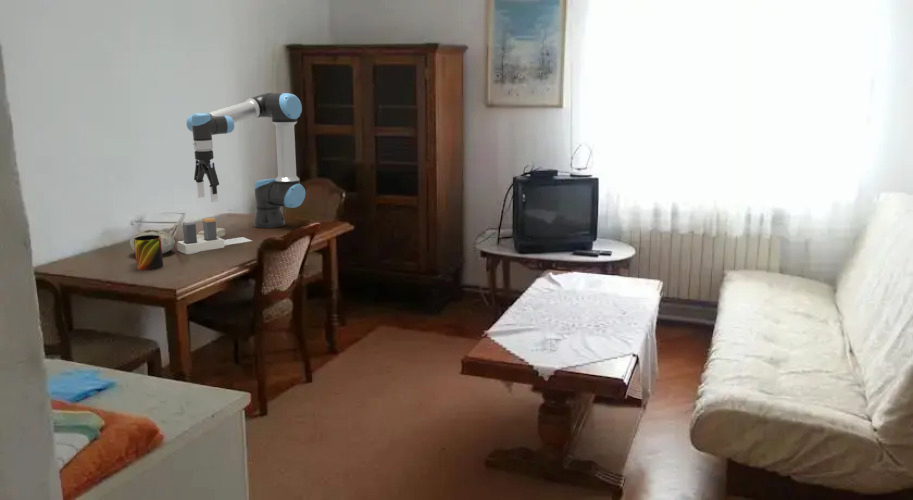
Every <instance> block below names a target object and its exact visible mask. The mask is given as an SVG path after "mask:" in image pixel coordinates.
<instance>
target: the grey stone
mask: <svg viewBox="0 0 913 500" xmlns="http://www.w3.org/2000/svg"><path fill="white" fill-rule="evenodd" d="M145 235H158V236H160V237H161V247H162V255H163V254H167V252H169V251H171V250H172V249H173V248H174V246H175V244H176V241H175V238H174V236H172V235H171V234H170V233H169V232H165V230H161V229H158V228H157V229H143V230H141V231H139V232H137V233H136V234H134V235H132V237H131V238H130V240H129V245H130V248H131V250H132V251H134V252H135V246H134V239H135V238H136V237H139V236H145Z"/></svg>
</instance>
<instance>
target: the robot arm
mask: <svg viewBox="0 0 913 500" xmlns="http://www.w3.org/2000/svg"><path fill="white" fill-rule="evenodd" d="M302 111H303V106H302V102H301V100H300V99H299V97H298V96H297V95H295V94H293V93H288V92H265V93H262V94H258V95H255V96H253V97H249V98H246V100H245V101H243V102H240V103H236V104H234V105H230V106H227V107H223V108H220V109H216V110H213V111H208V112H196V113H192V115H189V116H188V118H187V119H186V127H187V129H188V130H189V131H190V132H192V139H193V143H192V145H193V149H194V150H195V151H194V159H195V167H194V177H193V179H194V181H195V182H196V187H197V188H196V189H197V198H200V199H201V198H206V196H205V193H206V192H205V183H204V181H205V180H204V178H205V175H206V177H207V179H208V182H209V184H210V185H209V186H208V187H209V191H210V192H209V193H210V203H215V202H218V201H219V195H218V186H220V183H219V182H220V181H219V178H218V175H217V171H216V167H215V162H211V160H213V159H215V158H214V150H213V148H214V146H213V136H214V135H226V134H230V133H232V132H233V131H234V130H235V123H237V122H240V121H244V120H247V119H257V118H271V123H272V124H273V125H275V139H276V140H275V141H276V159H277V176H276V177H274V178H265V179H259V180H256V181H255V182H254V196H255V197H254V198H255V207H256V210H255V215H254V218H253V226H254V228H259V229H273V228H274V229H275V228H279V227H283V226H285V225H286V221H285V220H286V219H285V217H284V215H283V214H284V213H283V212H282V209H281V207H285V208H288V209H289V208H290V209H291V208H292V209H294V208H298V207H300V206H301V205H302V204H303V202H304V201H305V198H306V190H305V187H304V186H303V185H302V184H301V181H300V177H299V176H297V163H296V161H297V160H296V140H295V125H296V124H297V123H298V118H300V117H301V114H302Z"/></svg>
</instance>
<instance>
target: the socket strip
mask: <svg viewBox="0 0 913 500" xmlns="http://www.w3.org/2000/svg"><path fill="white" fill-rule="evenodd" d="M182 230H183V231H182V233H183V240H181V241H177V251H178V252H180V253H182V254H184V255H186V256H187V255H192V254H197V253H198V252H199V253H200V252H204V251H210V250H216V249H222V248H223V249H224V248H225V245H224V240H225V239H224V238H222V237H217V240H211V241H206V240H204V238H199V239H197V236H196V235H197V225H196V221H194V220H185V221H182ZM199 253H198V254H199Z"/></svg>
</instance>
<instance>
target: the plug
mask: <svg viewBox="0 0 913 500" xmlns="http://www.w3.org/2000/svg"><path fill="white" fill-rule="evenodd" d="M216 222H217V221H216V218H215V217H206V218H205V217H204V218H202V227H203V228H202V229H203V230H204V240H206V241H211V240H217V234H216V228H217V223H216Z"/></svg>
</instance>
